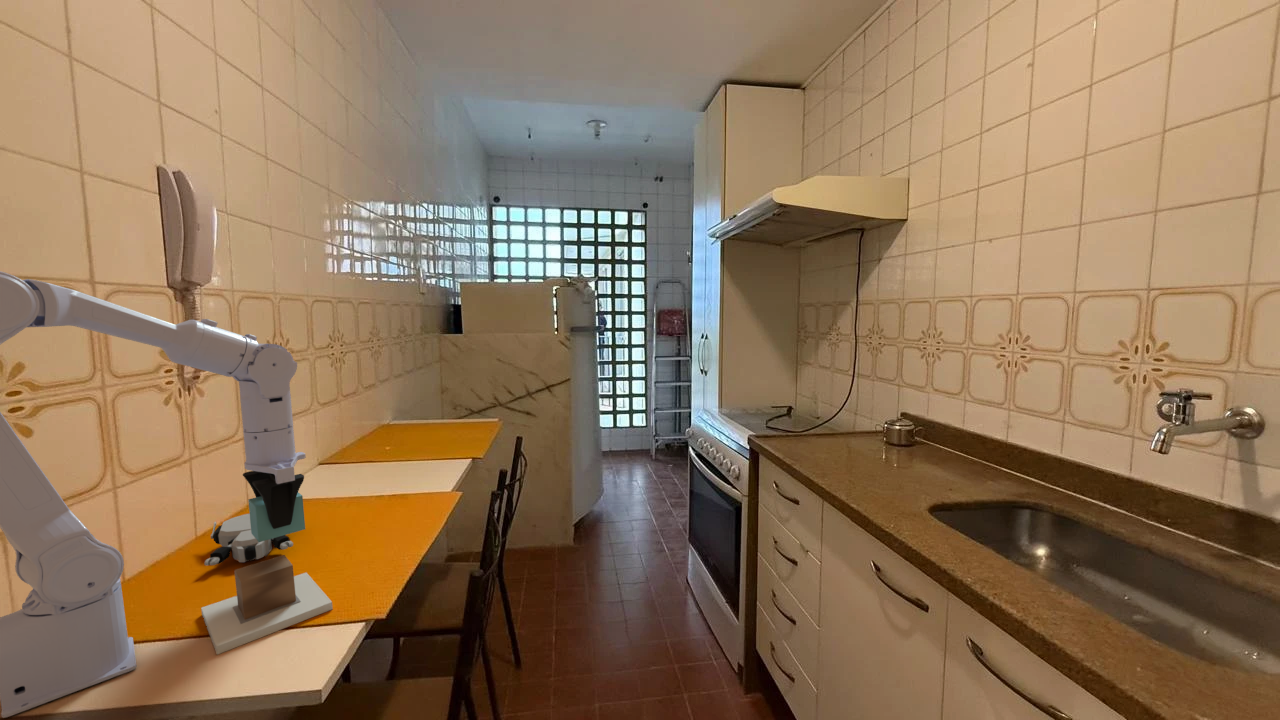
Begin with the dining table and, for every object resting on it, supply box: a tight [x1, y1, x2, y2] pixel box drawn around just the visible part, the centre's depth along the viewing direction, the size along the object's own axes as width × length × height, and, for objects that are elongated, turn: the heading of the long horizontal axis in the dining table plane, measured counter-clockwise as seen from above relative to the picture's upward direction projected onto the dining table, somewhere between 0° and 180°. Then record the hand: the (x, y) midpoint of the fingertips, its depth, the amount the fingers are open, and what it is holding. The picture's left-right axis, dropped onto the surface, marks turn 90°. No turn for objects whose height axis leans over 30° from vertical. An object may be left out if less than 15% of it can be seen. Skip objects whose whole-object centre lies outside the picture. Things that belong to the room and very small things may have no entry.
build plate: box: [200, 571, 333, 655], centre depth 68 cm, size 12×12×1 cm
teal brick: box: [247, 492, 306, 542], centre depth 73 cm, size 6×4×5 cm
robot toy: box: [203, 512, 294, 567], centre depth 86 cm, size 12×4×15 cm
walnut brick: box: [233, 554, 296, 619], centre depth 67 cm, size 6×4×5 cm
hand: (277, 521), depth 73 cm, fingers closed on teal brick, 4 cm apart
